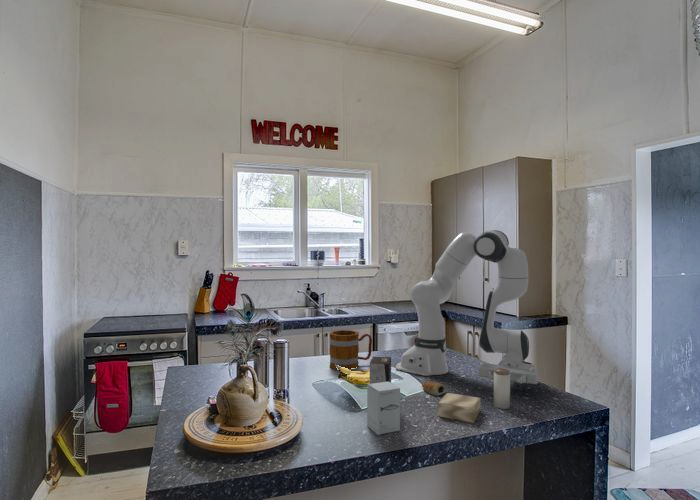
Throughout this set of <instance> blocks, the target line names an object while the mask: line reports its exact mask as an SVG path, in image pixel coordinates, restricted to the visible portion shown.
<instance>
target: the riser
mask: <svg viewBox="0 0 700 500" xmlns="http://www.w3.org/2000/svg"><path fill="white" fill-rule="evenodd" d="M481 399H482V398H481V397H476V396H470V395H466V394H465V395H464V394H458V393H451V392H447V393H446V392H445V394H444V396H443V397H442V398H441V399H440V400H439V401H438V403H437V416H438V417H442V418H446V419H451V420H456V421H457V420H458V421H462V422H468V423H472V424H473V423H475V421H476V419H477V417H478V416H479V414H480V413H481V403H482V401H481Z"/></svg>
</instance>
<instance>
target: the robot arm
mask: <svg viewBox="0 0 700 500" xmlns="http://www.w3.org/2000/svg"><path fill="white" fill-rule="evenodd" d="M509 244H510V242H509V238H508V236H507V235H506V234H505V233H504V232H503V231H501V230H496V229H495V230H494V229H493V230H486V231H485V232H482V233H480V234H478V235H477V236H476V235H474V234H473V233H470V232H467V231H465V232H464V231H463V232H460V233H459V234H458V235H457V236H455V238H454V239H453V240H452V241H451V242H450V243H449V244H448V246H447V247H446V249H445V250H444V252H443V253H442V254H441V256H440V257H439V259H438V260H437V262H436V263H435V265H434V266H435V269H434V272H433V274H432V275H431V277H430V278H429V279H428V280H421V281H419V282H417V283H416V284H414V285H413V286H412V288H411V289H410V293H409V298H410V300H411V301H412V303H413V304H414V306H415V310H416V313H417V318H418V319H417V320H418V335H417V336H416V337H415V338H414V339H413V343H414V345H413V346H411V347H410V348H408V349H407V350H405V351H404V352H403V353H402V355H401V358H400V362H398V363H397V364H396V365H395V369H396V368H397V369H399V370H398V371H400V370H402V371H401V372H405V373H409V374H414V375H420V376H423V377H424V376H425V377H429V376H435V375H437V376H439V375H444V374H447V373H449V368H448V365H447V357H446V350H447V341H446V337H445V333H446V332H445V329H446V328H445V327H446V326H445V324H446V323H445V322H446V321H445V318H444V317H443V315H442V311H441V307H440V305H441V304H444V303H445V302H447V301H448V300H449V299H450V298H451V296H452V294H453V290H454V288H455V285H456V283H457V282H458V280H459V278H460V277H461V276H462V274H463V273H464V271H466V268H467V267H468V266H469V264H470V263H471V262H472V260H473V259H474V258H475V257H476V256H478V257H479V258H481V260H482V259H483V260H485V261H488V262H491V263H495V264H497V269H498V270H497V271H498V273H497V275H498V277H497V283H496V284H495V287H493V288H491V289H490V291H489V293H488V295H487V300H486V305H485V311H484V315H483V321H482V326H481V330H480V333H479V337H478V344H479V347H480V349H482V350H483V351H484V352H485V353H488V354H489V353H491V354H495V353H496V354H503V357H502V358H501V360H500V361H499V363H498V364H496V363H495V364H494V363H483V364H481V365H479V366H478V376H479V377H481V378H488V380H490V381H494V372H495V369H496V368H504V369H508V370H509V373H510V383H517V384H521V385H522V384H531V385H537V384H538V380H539V375H538V374H539V373H538V369H537V368H536V366H535V365H536V364H535V363H532V362H530V361H529V362H528V361H526V359H527V358H528V356H529V353H530V341H529V337H528V336H527V335H526V333H525V332H524V331H523V330H520V329H507V328H497V327H495V326H494V324H495V318H496V314H497V309H498V307H499V306H500V305H502V304H504V303H508V302H512V301H516V300H518V299H519V298H521V297H523V296H524V295H525V294H526V293H527V291H528V287H529V264H528V259H527V254H526V253H525V251H524V250H522V249H519V248H515V247H509Z"/></svg>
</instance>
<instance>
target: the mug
mask: <svg viewBox="0 0 700 500" xmlns="http://www.w3.org/2000/svg"><path fill="white" fill-rule="evenodd" d="M359 336H360V332H359V331H358V330H357V331H356V330H352V329H351V330H350V329H340V330H332V331H330V333H329V340H330V341H329V342H330V343H329V369H332V370H335V371H338V370H337V368H336V366H335V364H336V365H339V366H341V367H345V368H348V369H351V368H356V367H358V368H359V366H358V364H359V360H364V361H368V360H370V358H371V355H372V345H373V344H372V343H373V339H372V336H371V335H370V334H369V333H364V334H363V335H361V337H359ZM366 337H368V352H367V356H366V357H364V356H359V352H360V351H359V350H360V349H359V346H360V345H359V342H361V341H363V340H364V339H365V338H366Z"/></svg>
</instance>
